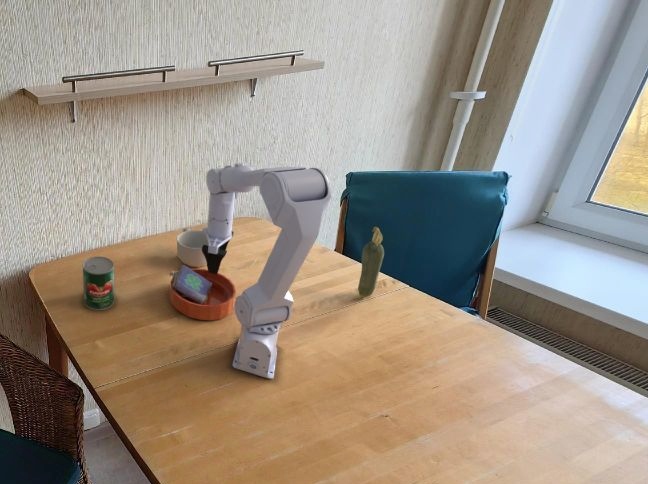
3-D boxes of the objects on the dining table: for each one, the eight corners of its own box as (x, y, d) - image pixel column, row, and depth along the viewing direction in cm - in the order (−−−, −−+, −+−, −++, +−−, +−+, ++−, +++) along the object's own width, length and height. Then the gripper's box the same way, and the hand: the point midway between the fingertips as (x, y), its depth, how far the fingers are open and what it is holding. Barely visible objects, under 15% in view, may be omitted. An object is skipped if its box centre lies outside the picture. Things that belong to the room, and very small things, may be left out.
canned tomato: (103, 288, 116) (102, 253, 112) (120, 303, 109) (120, 266, 105) (78, 298, 112) (76, 262, 108) (94, 314, 105) (93, 277, 101)
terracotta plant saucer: (227, 329, 100) (229, 313, 98) (161, 310, 106) (162, 295, 105) (238, 291, 113) (240, 277, 111) (179, 277, 120) (180, 263, 118)
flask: (206, 302, 104) (168, 278, 106) (201, 309, 106) (163, 285, 108) (213, 280, 112) (177, 258, 114) (208, 287, 114) (172, 266, 116)
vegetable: (374, 304, 107) (393, 234, 99) (355, 302, 107) (372, 232, 100) (368, 294, 111) (385, 225, 103) (349, 292, 111) (365, 224, 104)
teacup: (216, 271, 122) (218, 247, 119) (178, 271, 122) (180, 247, 119) (205, 246, 135) (207, 224, 132) (171, 247, 135) (172, 224, 132)
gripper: (209, 201, 109) (206, 247, 114) (196, 225, 97) (193, 276, 102) (238, 206, 106) (233, 253, 111) (228, 231, 94) (223, 283, 99)
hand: (215, 264), depth 106 cm, fingers open, 7 cm apart
